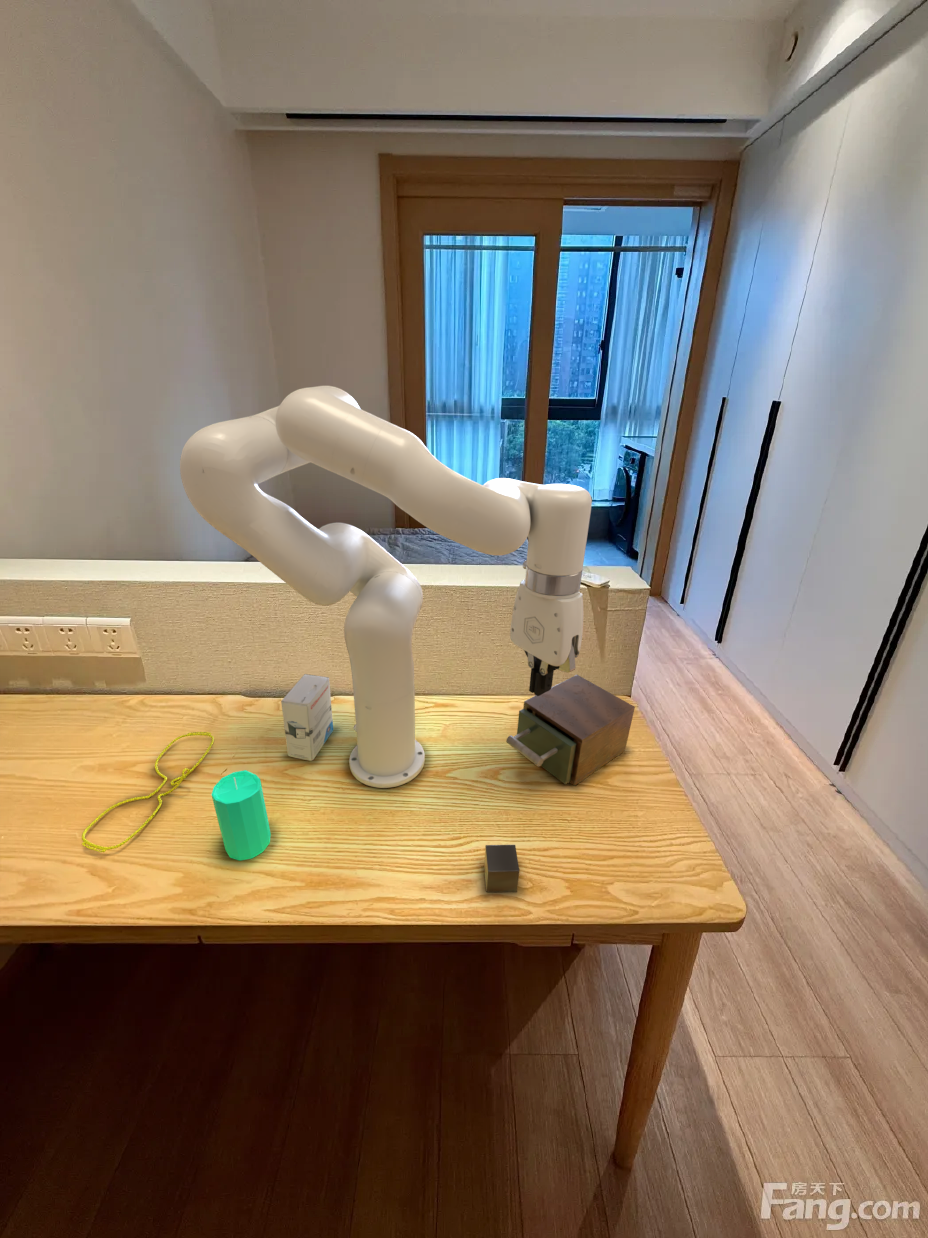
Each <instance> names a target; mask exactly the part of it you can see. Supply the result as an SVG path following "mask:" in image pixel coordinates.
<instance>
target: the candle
mask: <svg viewBox="0 0 928 1238" xmlns="http://www.w3.org/2000/svg"><path fill="white" fill-rule="evenodd" d="M262 785H263V784H262V781H261V778H260V777H259V776H258V775H257V774H256V773H254V772H251V771H249V770H246V769H244V770H239V771H233V772H231V773H229V774H227V775H225V776H223V777H221V778H220V779H219V781H218V782H216V784H215V785H214V786H213V788H212V792H211V799H212V802H213V806H214V810H215V811H214V812H215V815H216V818H217V823H218V827H219V830H220V835H221V838H222V843H223V846H224V850H225V852H226V853H227V855H228V857H229V858H230V859H232V860H236V861H239V862H240V861H246V860H253V859H254V858H255V857H257V856H259V855H261V854H262V853H264V852H265V850H266V849H267V848H268V846H269V845H270V844H271V837H272V832H271V828H270V822H269V817H268V812H267V806H266V801H265V797H264V791H263V786H262Z"/></svg>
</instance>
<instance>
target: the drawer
mask: <svg viewBox="0 0 928 1238" xmlns="http://www.w3.org/2000/svg"><path fill="white" fill-rule="evenodd" d="M516 728H517V729H516V735H514V736H513V735H508V737H506V740H505V742H506V743H507V744H508V745H509V746H510V747H512V748H513V749H514V750H515V751H517V752H518V753H520V754H521V755H522V756H524V757H525V758H526V759H527V760H529V761H530V762H532V763H533V764H534V765H535V766H537V767H542V768H543V769H544V770H545V771H547V772H549V774H551V775H552V776H554V777H555V779H557V780H559V781H560V782H561V783H563V784H564V785H567V784H568V783H570V778H571V773H573V767H574V761H575V755H576V749H577V743H578V741H577V740H575V739H574V738H572V737H571V736H569V735H568V734H566V733H565V732H564V731H562V730H561V729H559V728H558V727H556V726H555V725H553V724H552V723H550V722H549V721H547V720H546V719H544V718H543V717H541V716H540V715H538V714H537V713H535V712H534V711H532V713H530V712H529V711H527V710H526V709H523V708H522V709H520V710H518V717H517V727H516Z"/></svg>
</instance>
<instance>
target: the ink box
mask: <svg viewBox="0 0 928 1238" xmlns="http://www.w3.org/2000/svg"><path fill="white" fill-rule="evenodd" d="M280 703H281V704H280V705H281V710H282V711H281V713H282V718H283V728H284V735H285V742H286V743H285V744H286V749H287V750H286V751H287V756H288V757H291V758H294V759H299V760H305V761H310V762H312V761H314V760H315V758H316V757H317V756H318V754H319V753H320V751H321V749H322V748H323V747H324V745H325V744H326V742H327V740H328V739H329V738H330V736H331V735H332V733H333V732H334V720H333V709H332V708H333V707H332V696H331V683H330V677H329V676H323V675H316V674H308V673H304V674H303V675H302V677H300V679H298V681H297V682H296V683H295V684H294V686H293V687H292V688H291V689H290V690H289V691H288V692H287V694H285V696H284V697H283V698H282V700H280Z"/></svg>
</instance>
